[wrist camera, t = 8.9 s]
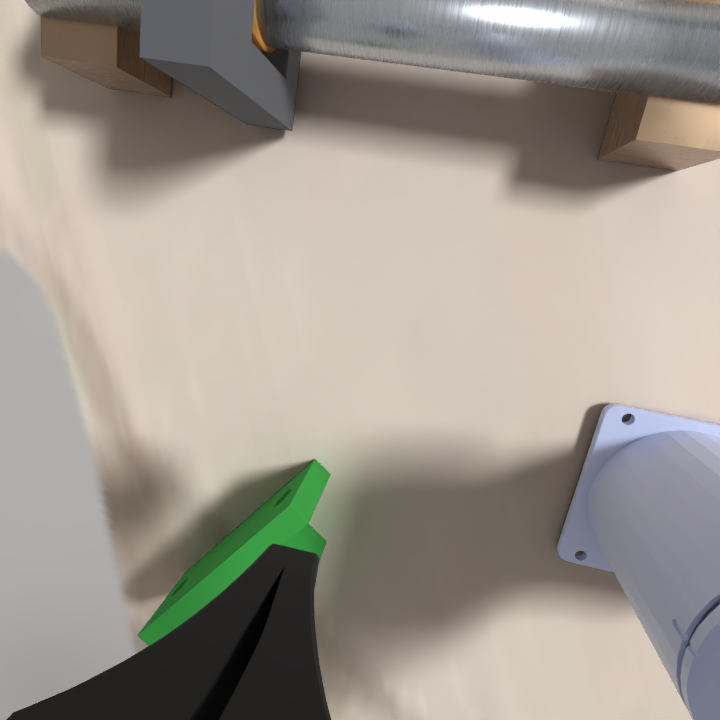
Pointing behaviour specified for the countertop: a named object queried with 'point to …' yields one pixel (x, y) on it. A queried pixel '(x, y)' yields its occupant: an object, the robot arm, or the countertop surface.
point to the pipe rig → (467, 53)
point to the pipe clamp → (245, 550)
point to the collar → (221, 58)
